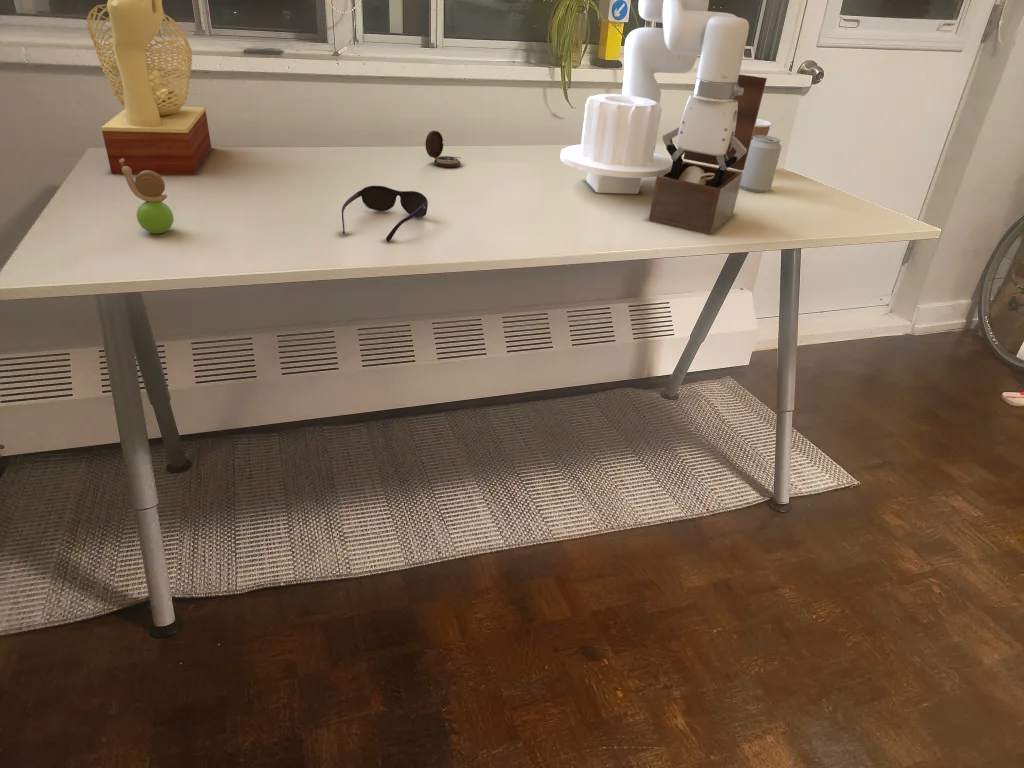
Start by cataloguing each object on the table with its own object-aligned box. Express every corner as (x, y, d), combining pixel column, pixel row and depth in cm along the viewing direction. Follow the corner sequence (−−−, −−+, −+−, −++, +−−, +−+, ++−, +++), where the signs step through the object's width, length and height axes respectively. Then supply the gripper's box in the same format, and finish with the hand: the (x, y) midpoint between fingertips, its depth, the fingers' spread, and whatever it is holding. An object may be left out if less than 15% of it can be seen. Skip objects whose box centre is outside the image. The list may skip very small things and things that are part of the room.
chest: (710, 234, 138) (720, 189, 133) (648, 220, 143) (656, 176, 138) (732, 214, 151) (742, 172, 146) (675, 201, 156) (683, 160, 151)
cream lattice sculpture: (195, 177, 147) (163, -16, 129) (100, 175, 143) (54, -23, 125) (213, 148, 168) (188, -22, 149) (131, 146, 164) (95, -28, 146)
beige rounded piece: (687, 187, 147) (692, 161, 144) (713, 200, 140) (719, 173, 138) (671, 188, 145) (676, 162, 142) (697, 201, 139) (703, 174, 136)
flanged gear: (682, 204, 154) (700, 113, 144) (572, 202, 150) (582, 108, 140) (645, 173, 175) (659, 92, 165) (547, 171, 171) (555, 87, 161)
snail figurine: (141, 226, 121) (126, 154, 114) (180, 227, 121) (167, 156, 115) (129, 237, 116) (112, 163, 110) (169, 238, 117) (156, 165, 110)
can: (771, 195, 166) (785, 142, 160) (739, 191, 167) (751, 138, 161) (768, 186, 172) (781, 136, 166) (737, 182, 173) (749, 132, 167)
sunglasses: (432, 217, 135) (433, 191, 132) (403, 244, 122) (403, 216, 119) (366, 208, 137) (365, 182, 135) (330, 233, 124) (328, 205, 121)
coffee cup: (745, 163, 192) (756, 117, 186) (768, 173, 184) (780, 125, 178) (713, 163, 189) (723, 116, 183) (734, 174, 181) (746, 125, 175)
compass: (450, 169, 166) (451, 137, 162) (423, 163, 169) (423, 131, 165) (470, 163, 172) (471, 132, 168) (443, 157, 175) (444, 126, 171)
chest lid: (766, 78, 137) (772, 78, 142) (702, 69, 143) (710, 69, 147) (742, 170, 145) (749, 167, 150) (683, 158, 151) (691, 156, 155)
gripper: (765, 95, 131) (743, 189, 141) (676, 82, 138) (660, 172, 147) (756, 99, 126) (733, 197, 135) (663, 85, 133) (647, 179, 142)
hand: (695, 183), depth 141 cm, fingers closed on beige rounded piece, 7 cm apart
